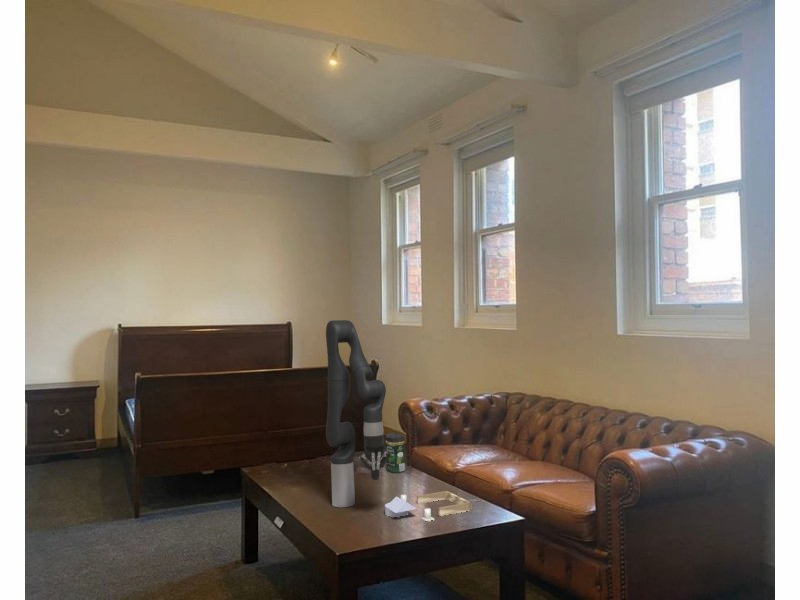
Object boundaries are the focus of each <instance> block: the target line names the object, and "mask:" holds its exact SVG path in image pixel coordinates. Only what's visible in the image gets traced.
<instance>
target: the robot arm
mask: <svg viewBox="0 0 800 600" xmlns="http://www.w3.org/2000/svg"><path fill="white" fill-rule="evenodd" d="M325 341H326V348H327V349H326V352H327V413H326V414H327V415H326V416H327V417H326V423H325V425H326V427H325V438H326V441H327V444H328V445H329V447H331V448H336V447H338V448H337V450H336V451H335V452H334V453H333V454H332V455H331V456H330V472H331V475H330V476H331V477H330V478H331V506H333V507H336V508H347V507H352V506H354V505H355V504H356V502H355V500H356V499H355V469H354V468H355V467H354V457H355V454H356V432H355V431H356V429H355V427H354V425H353V424H352V423H351V422H350V421H343V422H341V416H342V411H343V408H344V406H345V404H346V402H347V400H348V398H349V395H350V392H351V373H350V371H349V369H348V367H347V366H346V364H345V363H344V360H343V359H342V357H341V355H340V349H339V343H342V344H343V343H346V344H348V346H349V347H350V351H349V357H348V358H349V359H348V364H349V365H348V366H349V368H350V370H351V372H352V373H353V376H354V378H355V383H356V387H357V394H358V395H359V398H361V399H362V400H363V401H368V400H372V401H371V403H370V404H369V405H366V406H364V408H363V428H362V429H363V451H362V453H361V455H358V456H357V459H358V460H359V461H360V463H362V465H363V466H364V467H365V468H366V469H368V470H370V478H371V479H372V480H373V481H378V480H379V478H380V469H381V468H384V466H385V465H386V462H387V460H388V459H389V457H390V453H388V452H386V448H385V447H384V446H385V441H384V437H385V436H384V435H385V434H384V431H385V430H384V425H383V424H384V423H383V408H384V404H385V403H384V402H385V398H386V394H387V393H386V392H387V389H386V387H387V386H386V385H385V383H384V381H383V380H382V379H381V380H380V379H376V380H375V379H373V380H371V378H372V377H373V375H374V374H373V370H372V367H371V366H370V364H369V362H368V361H367V359H366V357H365V354H364V351H363V348H362V345H361V342H360V338H359V336H358V332H357V329H356V327H355V325H354V323H353V322H352V321H351V320H349V319H343V320H342V319H339V320H338V319H336V320H329V321H328V322H327V323H326V326H325ZM366 459H367V460H368V462H367V461H366Z"/></svg>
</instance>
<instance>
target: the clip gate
mask: <svg viewBox="0 0 800 600" xmlns="http://www.w3.org/2000/svg"><path fill="white" fill-rule="evenodd" d="M407 497H408V496H407V494H406V493H402V494H400V499H402V500H404V501H406V502H407V501H408V499H407ZM407 503H408V502H407ZM421 520H422V521H424V522H425V521H428V522H432V521H431V520H433V521H435V518H434V517H432V510H431V508H430V507H425V508H424V516H423V517H421Z"/></svg>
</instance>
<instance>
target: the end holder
mask: <svg viewBox="0 0 800 600" xmlns="http://www.w3.org/2000/svg"><path fill="white" fill-rule="evenodd" d="M438 500H439V501H444V500H447V501H449V502H451V503H453V504H451V505H447V506H440V507H438V508H437V513H438V514H437V515H439V516H441V517H445V516H444V515H446V516H450V515H449V514H452V515H456V513H457V514H462V513H467V512H466V511H468V512H472V511H473V502H471V501H469V500H467V499H465V498H462V497H461V496H459V495H456V494H455V493H452V492H450V491H448V490H444V491H438V492H431V493H426V494H420V495H416V504H417V505H420V504H421V505H422V504H426V503H427V502H428V503H432V502H433V501H434V502H437V501H438ZM471 510H472V511H471ZM461 512H462V513H461ZM439 516H438V517H439Z"/></svg>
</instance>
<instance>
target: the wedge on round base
mask: <svg viewBox="0 0 800 600" xmlns="http://www.w3.org/2000/svg"><path fill="white" fill-rule="evenodd" d="M413 510H417V507H415V506H413V505H412V504H410V503H409V502H406V501H404V500H402V499H401V497H399V496H397V495H396V496H395V497H394V498H393V499H392V500H391V501H390V502H387V503H385V504H384V515H385V516H386V515H387V516H386V517H388V516H390V517H389V518H394V517H397V518H401V517H400V516H404V517H406V516H405V515H407V514H408V515H409V511H413ZM408 515H407V516H408Z"/></svg>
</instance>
